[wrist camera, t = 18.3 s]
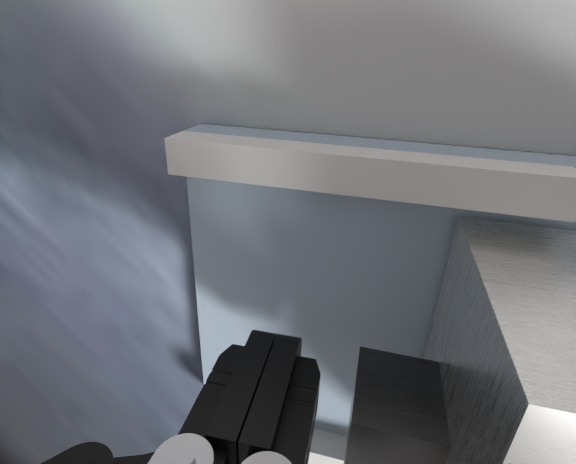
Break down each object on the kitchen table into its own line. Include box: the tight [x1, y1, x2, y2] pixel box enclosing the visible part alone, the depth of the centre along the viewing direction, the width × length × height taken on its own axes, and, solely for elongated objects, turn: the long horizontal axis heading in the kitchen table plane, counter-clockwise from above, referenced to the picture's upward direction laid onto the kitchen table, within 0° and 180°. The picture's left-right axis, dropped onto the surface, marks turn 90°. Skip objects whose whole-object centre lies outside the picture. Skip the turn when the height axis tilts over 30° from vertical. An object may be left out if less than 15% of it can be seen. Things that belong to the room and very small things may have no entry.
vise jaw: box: [344, 216, 576, 464], centre depth 9 cm, size 5×9×6 cm, turn 178°
